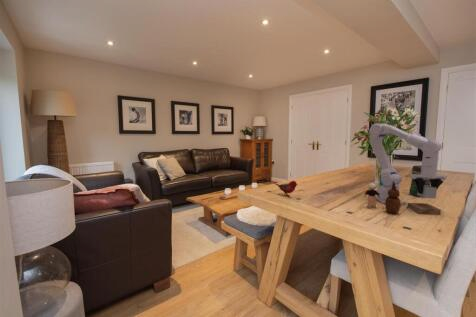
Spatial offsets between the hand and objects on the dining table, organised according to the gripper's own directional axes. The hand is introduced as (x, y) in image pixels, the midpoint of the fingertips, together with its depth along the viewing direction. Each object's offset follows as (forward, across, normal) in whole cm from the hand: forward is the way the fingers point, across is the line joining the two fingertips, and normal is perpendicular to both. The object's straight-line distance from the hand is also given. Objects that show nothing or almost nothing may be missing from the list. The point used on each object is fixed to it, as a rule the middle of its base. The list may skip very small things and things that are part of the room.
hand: (426, 193), depth 107 cm
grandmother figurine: (+9, -25, +1) cm, 26 cm away
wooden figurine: (+9, -18, -5) cm, 20 cm away
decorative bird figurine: (+9, -66, +17) cm, 69 cm away
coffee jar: (+9, +16, +28) cm, 33 cm away
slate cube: (+1, 0, 0) cm, 1 cm away
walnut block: (+9, -2, -2) cm, 9 cm away
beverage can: (+9, -4, +28) cm, 30 cm away
